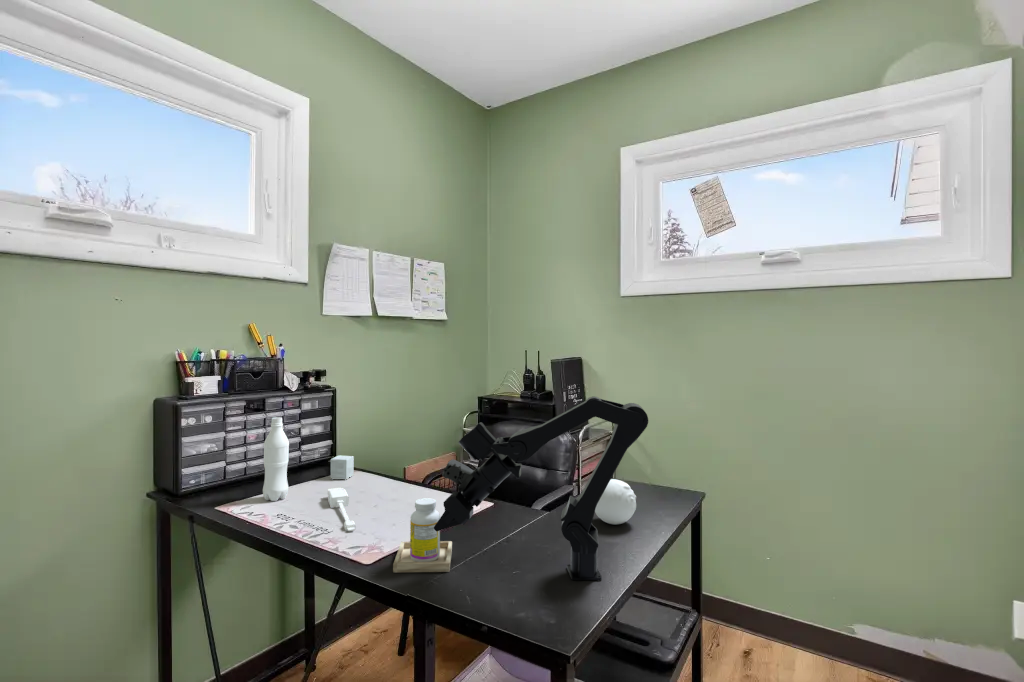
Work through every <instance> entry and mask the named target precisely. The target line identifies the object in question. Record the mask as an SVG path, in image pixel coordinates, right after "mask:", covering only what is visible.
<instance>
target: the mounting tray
mask: <svg viewBox="0 0 1024 682" xmlns="http://www.w3.org/2000/svg"><path fill="white" fill-rule="evenodd" d="M452 550H453V541H451V540H444V541H443V540H440V555H439V557H438V558H437V559H436V560H434V561H432V562H415V561H413V560H412V559H411V557H410V541H401V542H400V545H399V548H398V549H397V553H396V555H395V559H394V561H393V563H392V572H393V573H442V572H443V573H444V572H446V573H447V572H449V573H450V570H451V562H452V561H451V560H452V554H453V551H452Z"/></svg>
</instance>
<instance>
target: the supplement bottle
mask: <svg viewBox="0 0 1024 682" xmlns="http://www.w3.org/2000/svg"><path fill="white" fill-rule="evenodd" d="M436 507H437V501H436V499H434V498H431V497H430V498H429V497H425V498H423V497H422V498H418V499H416V500H415V501H414V508H415V511H413V512H412V513H411V516H410V530H409V531H410V533H409V535H410V537H409V538H410V540H409V542H410V557H411V559H412V560H413V561H415V562H432V561H434V560H436V559H437V558H438V557H439V555H440V541H441V530H440V531H435V529H434V526H435V525H436V523H437V522H438V520H439V519H440V518H441V515H440V512H439V511H438V510H437V509H436Z"/></svg>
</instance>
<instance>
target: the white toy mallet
mask: <svg viewBox="0 0 1024 682" xmlns="http://www.w3.org/2000/svg"><path fill="white" fill-rule="evenodd" d="M349 499H350V497H349V495H348V493H347V490H346V489H345V488H343V487H334V488H327V501H328V504H329V506H330V509H335V508H334V507H336V508H340V511H341V514H342V516H343V518H344V522H343V528H344V531H346V532H354V531H355V530H356V528H357V527H356V523H355V521H354V520H350V518H349V516H348V513H347V511H346V509H345V507H349V506H348V505H350V504H349V503H350V500H349Z"/></svg>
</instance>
